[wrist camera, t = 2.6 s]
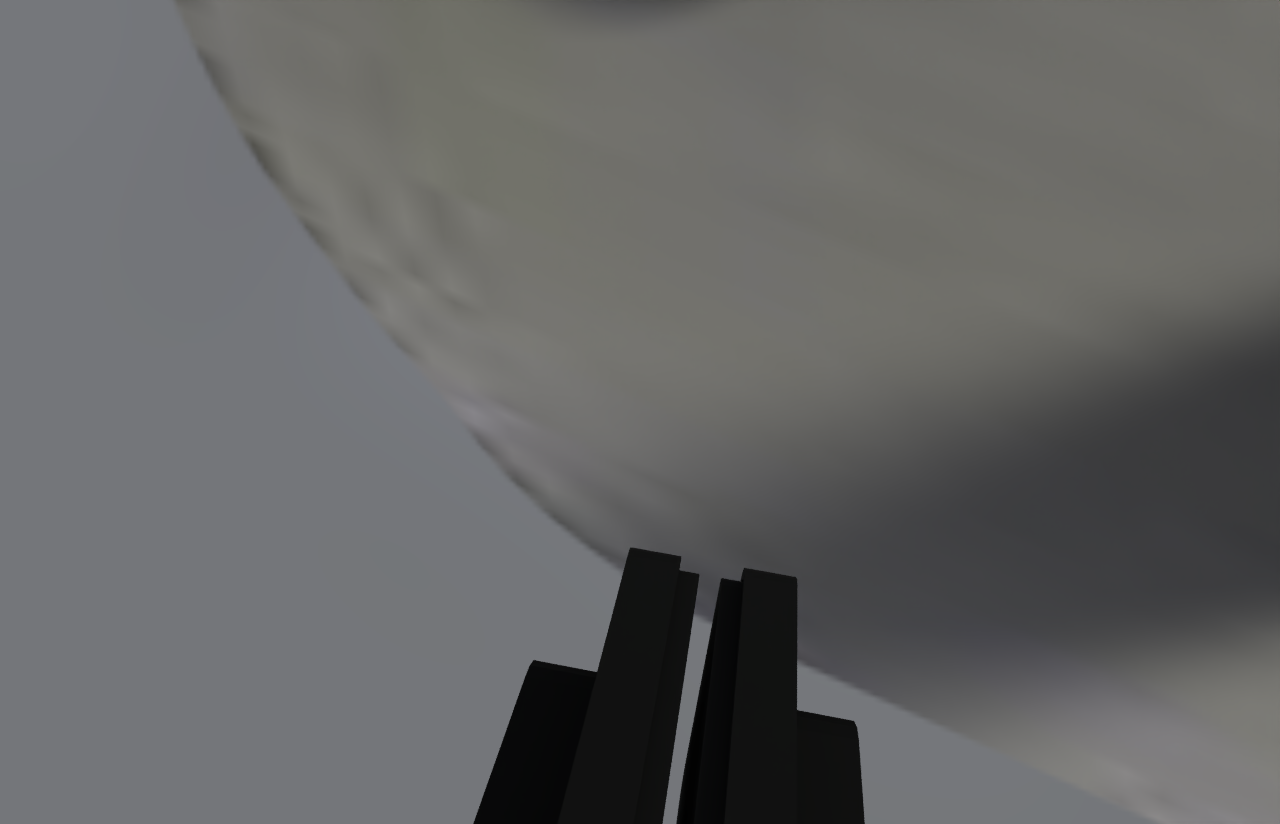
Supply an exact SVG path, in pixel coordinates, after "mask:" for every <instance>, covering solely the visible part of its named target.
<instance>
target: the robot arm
mask: <svg viewBox="0 0 1280 824" xmlns="http://www.w3.org/2000/svg"><path fill="white" fill-rule="evenodd" d="M680 562H681V556H676V555H670V554H664V553H659V552H653V551H648V550H642V549H637V548H630V550H629V553H628V557H627V560H626V564H625V568H624V572H623V576H622V580H621V583H620V587H619V591H618V595H617V599H616V603H615V606H614V610H613V614H612V618H611V622H610V625H609V629H608V633H607V637H606V640H605V644H604V648H603V652H602V656H601V660H600V663H599V667H598V671H597V672H593V671H588V670H583V669H578V668H572V667H567V666H562V665H557V664H551V663H546V662H541V661H536V660H533V662H532V663H531V665H530V666H529V669H528V671H527V674H526V676H525V679H524V682H523V685H522V688H521V690H520V693H519V696H518V699H517V702H516V704H515V707H514V710H513V713H512V716H511V719H510V721H509V724H508V727H507V730H506V733H505V736H504V739H503V741H502V744H501V747H500V750H499V753H498V755H497V758H496V761H495V764H494V767H493V770H492V773H491V775H490V778H489V781H488V784H487V787H486V789H485V792H484V795H483V798H482V801H481V804H480V806H479V809H478V812H477V815H476V818H475V821H474V824H662V823H663V816H664V809H665V802H666V796H667V789H668V783H669V776H670V769H671V762H672V755H673V749H674V742H675V735H676V728H677V722H678V715H679V709H680V702H681V695H682V688H683V682H684V675H685V668H686V662H687V654H688V648H689V641H690V635H691V628H692V621H693V614H694V608H695V601H696V594H697V588H698V581H699V574H696V573H691V572H685V571H680V570H679V568H680ZM677 824H865V822H864V807H863V793H862V779H861V765H860V751H859V738H858V731H857V726H856V724H855V722H854V721H851V720H846V719H841V718H835V717H830V716H825V715H820V714H814V713H809V712H804V711H798V710H797V578H796V577H792V576H786V575H781V574H775V573H770V572H764V571H759V570H753V569H748V568H744V570H743V573H742V577H741V582H740V581H735V580H729V579H724V578H722V579H721V582H720V587H719V592H718V597H717V602H716V607H715V612H714V618H713V623H712V628H711V633H710V639H709V644H708V649H707V654H706V659H705V665H704V670H703V675H702V681H701V685H700V690H699V696H698V701H697V706H696V712H695V717H694V722H693V727H692V732H691V737H690V743H689V748H688V753H687V758H686V764H685V769H684V775H683V781H682V787H681V794H680V801H679V808H678V816H677Z"/></svg>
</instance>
